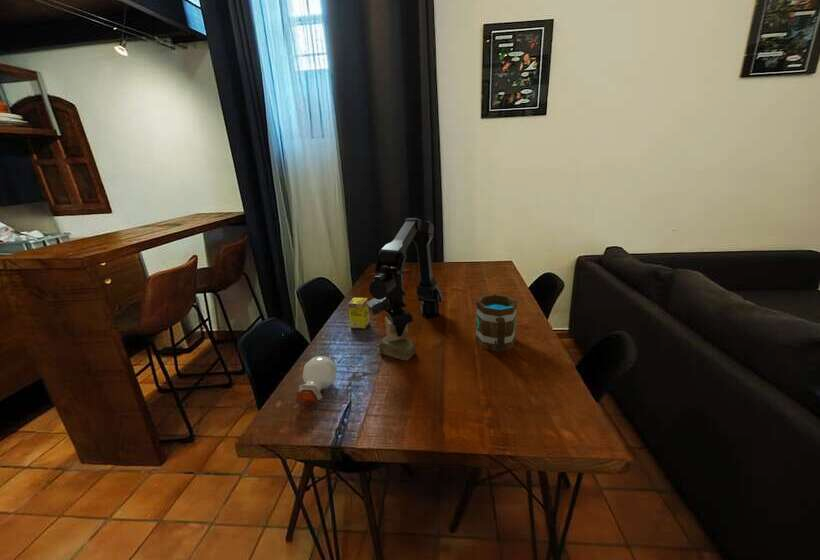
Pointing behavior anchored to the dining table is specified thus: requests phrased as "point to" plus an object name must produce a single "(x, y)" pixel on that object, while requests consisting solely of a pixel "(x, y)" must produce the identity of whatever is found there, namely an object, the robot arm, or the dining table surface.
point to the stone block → (397, 348)
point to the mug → (496, 322)
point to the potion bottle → (315, 380)
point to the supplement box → (359, 313)
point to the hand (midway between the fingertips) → (397, 331)
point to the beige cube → (394, 330)
